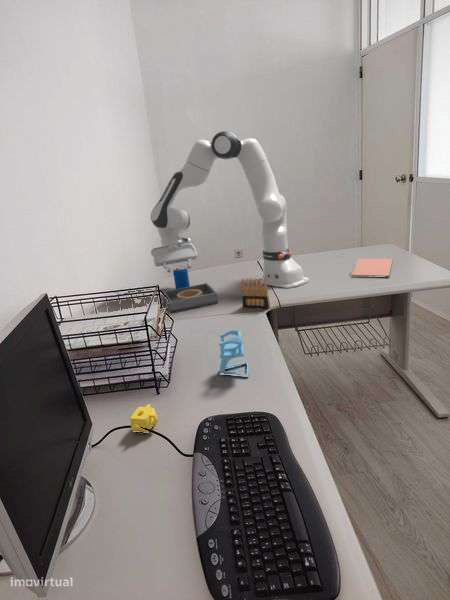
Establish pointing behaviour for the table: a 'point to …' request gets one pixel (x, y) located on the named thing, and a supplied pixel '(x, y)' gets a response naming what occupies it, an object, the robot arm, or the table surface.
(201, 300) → the tray
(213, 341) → the table surface
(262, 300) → the ammunition clip
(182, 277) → the beverage can
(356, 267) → the notebook
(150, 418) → the yellow block with hole
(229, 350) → the chair
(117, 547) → the table surface
